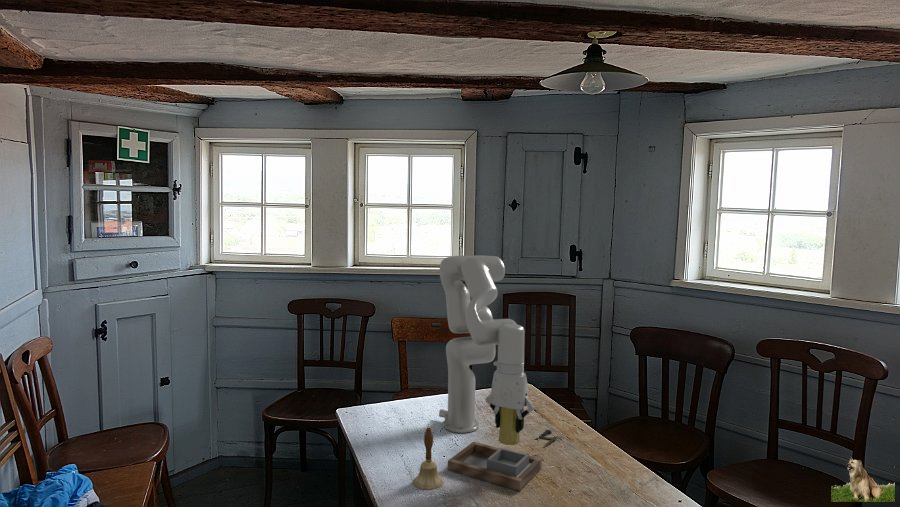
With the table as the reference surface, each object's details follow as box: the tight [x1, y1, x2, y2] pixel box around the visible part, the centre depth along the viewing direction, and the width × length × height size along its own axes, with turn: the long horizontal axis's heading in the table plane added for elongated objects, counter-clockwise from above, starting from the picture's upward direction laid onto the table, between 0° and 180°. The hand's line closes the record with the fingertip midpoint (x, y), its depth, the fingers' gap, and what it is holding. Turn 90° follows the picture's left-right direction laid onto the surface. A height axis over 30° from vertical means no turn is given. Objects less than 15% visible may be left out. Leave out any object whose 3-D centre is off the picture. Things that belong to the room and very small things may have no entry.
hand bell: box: [413, 427, 444, 491], centre depth 161 cm, size 8×8×16 cm
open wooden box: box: [447, 441, 543, 492], centre depth 169 cm, size 23×16×3 cm
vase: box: [498, 407, 521, 446], centre depth 166 cm, size 6×6×14 cm
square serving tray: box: [485, 447, 531, 477], centre depth 167 cm, size 11×12×4 cm
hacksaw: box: [534, 429, 563, 449], centre depth 186 cm, size 24×10×2 cm, turn 144°
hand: (509, 428), depth 166 cm, fingers closed on vase, 5 cm apart
